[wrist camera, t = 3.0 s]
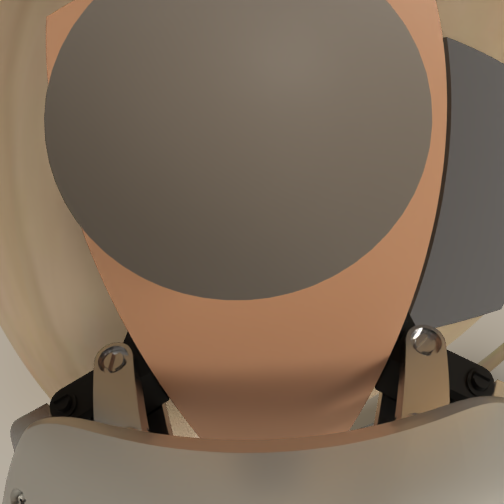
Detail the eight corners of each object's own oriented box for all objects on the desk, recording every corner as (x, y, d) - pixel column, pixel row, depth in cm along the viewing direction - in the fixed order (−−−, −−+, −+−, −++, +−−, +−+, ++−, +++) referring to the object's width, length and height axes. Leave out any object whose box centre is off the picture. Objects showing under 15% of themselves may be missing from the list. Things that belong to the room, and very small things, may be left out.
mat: (438, 38, 6) (446, 37, 6) (545, 94, 6) (552, 96, 5) (398, 327, 15) (401, 334, 14) (497, 304, 14) (501, 309, 14)
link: (149, 45, 6) (46, 16, 2) (343, 28, 6) (429, -22, 2) (214, 355, 14) (203, 442, 9) (329, 348, 13) (346, 435, 9)
